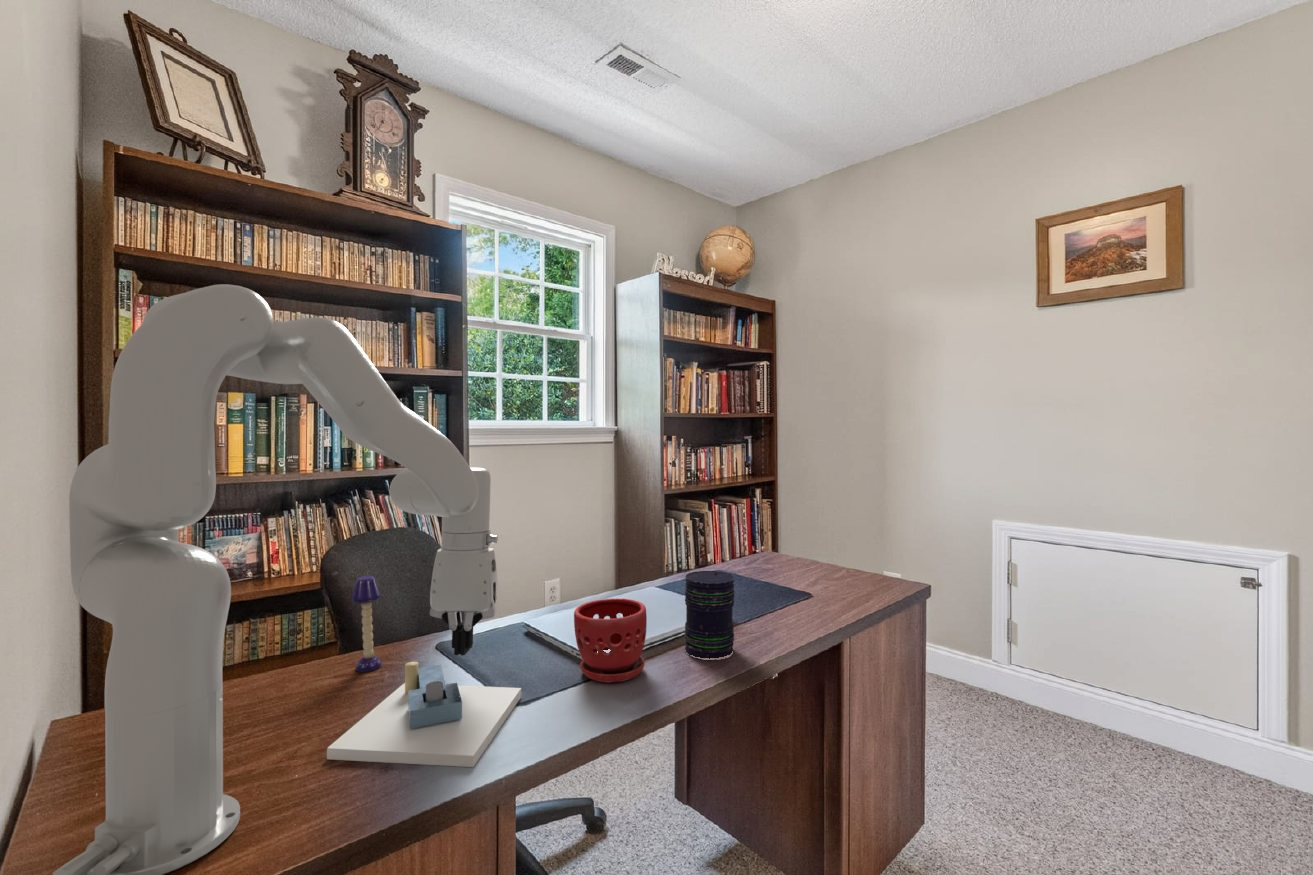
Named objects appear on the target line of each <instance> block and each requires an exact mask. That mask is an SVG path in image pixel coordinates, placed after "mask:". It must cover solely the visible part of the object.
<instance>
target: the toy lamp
mask: <svg viewBox="0 0 1313 875" xmlns="http://www.w3.org/2000/svg"><path fill="white" fill-rule="evenodd" d="M380 597H381V592H380V590H379V586H378V584H377V581H376V578H375V576H373V575H364V576H361V577H358V578H356V580H355V584H354V588H353V593H352V596H351V600H352V602H353V603H356V604H360V606H361V616H362V618H361V624H362V628H361V631H362V642H363V643H362V648H363V653H362V654H363V657H361V658H360V659H359V660H358V661H357V663H356V666H355V670H356V671H357V672H360V673H365V672H371V671H375V670H377V669H380V667H381V666H382V661H381V659H380V657H378V656H376V655H374V654H375V651H374V649H373V648H374V640H373V639H374V634H373V630H374V626H373V624H372V623H373V616H372V614H373V609H372V605H373V602H374V601H377V600H379V599H380Z"/></svg>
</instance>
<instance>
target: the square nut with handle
mask: <svg viewBox="0 0 1313 875" xmlns="http://www.w3.org/2000/svg"><path fill="white" fill-rule="evenodd" d="M434 681H440V682H443V699H442V700H436V701H431V702H426V685H427V684H428V683H430V682H434ZM408 712H409V726H410V729H411V728H417V727H422V726H427V725H432V724H437V723H442V722H448V721H453V720H458V719H462V700H461V696H460V693H459V689H458V683H457V682H454V683H452V682H451V683H446V681H445V677H444V673H443V668H442V664H436V665H429V666H421V667H418V689H416V690H410V691H408Z"/></svg>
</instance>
